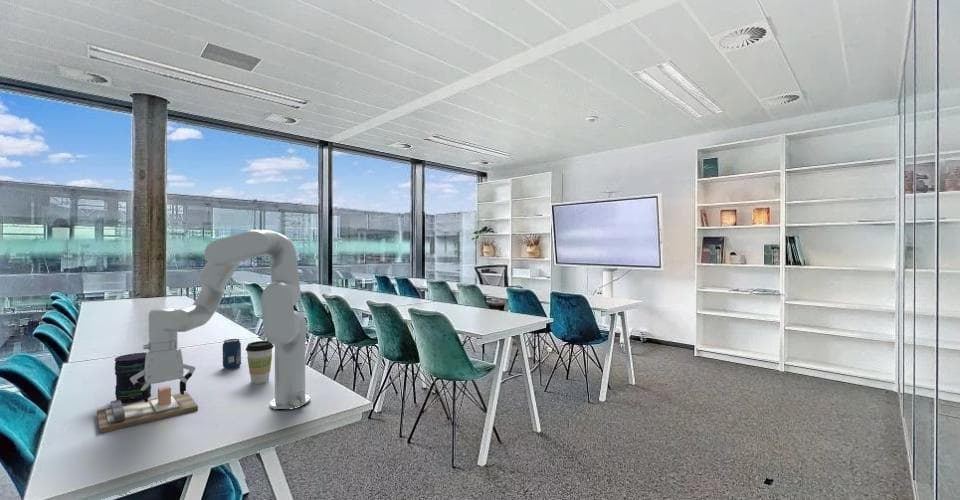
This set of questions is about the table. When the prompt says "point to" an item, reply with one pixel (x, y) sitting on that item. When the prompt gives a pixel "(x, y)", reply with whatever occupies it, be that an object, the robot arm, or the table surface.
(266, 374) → the coffee cup
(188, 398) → the board
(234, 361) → the soda can
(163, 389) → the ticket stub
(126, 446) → the table surface
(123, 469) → the table surface
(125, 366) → the storage jar
